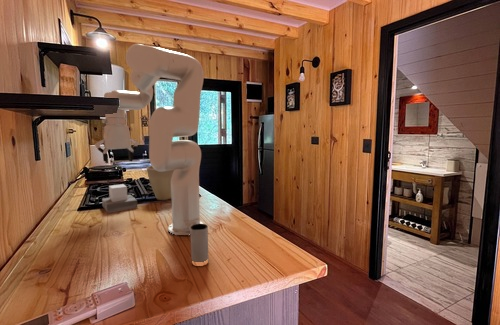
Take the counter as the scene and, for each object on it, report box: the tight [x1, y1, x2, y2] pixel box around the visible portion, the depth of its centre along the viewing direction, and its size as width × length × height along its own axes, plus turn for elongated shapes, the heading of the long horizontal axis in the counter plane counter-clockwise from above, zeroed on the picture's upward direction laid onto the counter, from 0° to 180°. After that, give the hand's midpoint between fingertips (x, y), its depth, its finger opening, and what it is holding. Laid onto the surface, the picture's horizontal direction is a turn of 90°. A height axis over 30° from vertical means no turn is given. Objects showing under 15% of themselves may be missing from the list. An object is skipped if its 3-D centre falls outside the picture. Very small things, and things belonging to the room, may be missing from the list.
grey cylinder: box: [190, 223, 209, 262], centre depth 73 cm, size 4×4×10 cm
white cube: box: [108, 183, 128, 202], centre depth 121 cm, size 6×6×6 cm
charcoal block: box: [101, 194, 139, 214], centre depth 121 cm, size 12×12×4 cm
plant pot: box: [146, 165, 174, 201], centre depth 135 cm, size 15×15×16 cm
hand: (118, 161), depth 118 cm, fingers open, 9 cm apart
